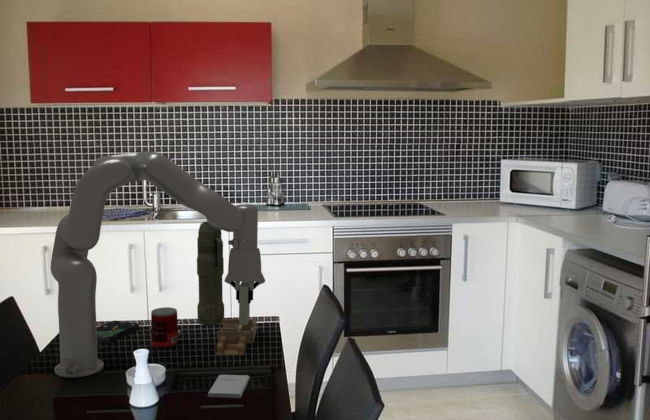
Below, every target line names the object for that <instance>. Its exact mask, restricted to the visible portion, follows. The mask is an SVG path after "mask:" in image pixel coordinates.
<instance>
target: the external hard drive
mask: <svg viewBox="0 0 650 420" xmlns="http://www.w3.org/2000/svg"><path fill="white" fill-rule="evenodd" d="M249 381H250V376H249V375H248V374H244V375H243V374H219V375H218V377H217V378H216V380H215V381H214V383H213V385H212V387H211V388H210V390H209V391H208V393H207V397H208V398H222V399H223V398H224V399H225V398H227V399H228V398H229V399H241V398H242V396H243V394H244V391H245V389H246V387H247V386H248V383H249Z"/></svg>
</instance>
